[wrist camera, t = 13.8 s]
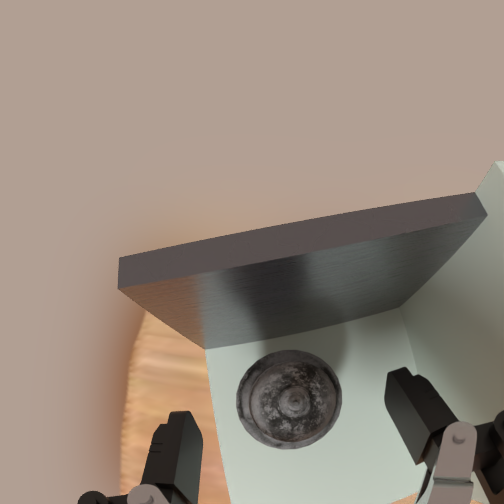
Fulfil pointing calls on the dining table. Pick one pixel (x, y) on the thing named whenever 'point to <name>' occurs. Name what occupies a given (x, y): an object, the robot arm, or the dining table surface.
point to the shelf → (343, 331)
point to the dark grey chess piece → (289, 399)
